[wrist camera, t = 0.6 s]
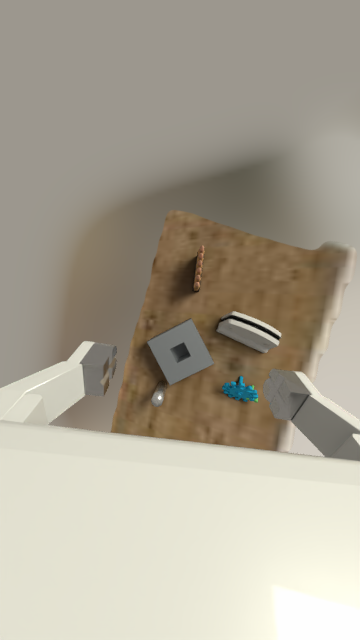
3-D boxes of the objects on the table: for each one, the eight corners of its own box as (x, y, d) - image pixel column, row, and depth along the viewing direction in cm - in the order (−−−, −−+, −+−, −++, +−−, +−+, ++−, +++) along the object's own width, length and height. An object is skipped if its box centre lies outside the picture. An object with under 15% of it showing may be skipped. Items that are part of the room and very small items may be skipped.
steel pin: (168, 387, 60) (164, 403, 50) (160, 391, 60) (154, 408, 50) (164, 379, 60) (159, 393, 50) (156, 383, 60) (149, 398, 50)
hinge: (214, 330, 58) (225, 323, 48) (220, 317, 59) (231, 307, 50) (264, 353, 58) (285, 350, 48) (269, 339, 59) (289, 334, 49)
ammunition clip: (197, 255, 57) (199, 241, 45) (203, 256, 57) (206, 242, 45) (192, 291, 58) (193, 286, 46) (198, 291, 58) (200, 287, 46)
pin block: (211, 357, 59) (214, 363, 53) (171, 377, 60) (169, 385, 54) (191, 318, 58) (191, 319, 52) (151, 338, 59) (147, 341, 53)
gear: (215, 391, 58) (236, 382, 50) (218, 374, 61) (238, 363, 54) (244, 407, 59) (269, 401, 51) (246, 389, 63) (269, 382, 55)
